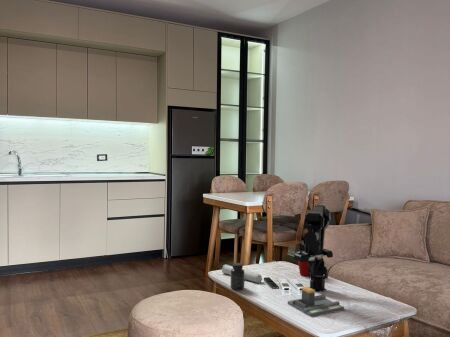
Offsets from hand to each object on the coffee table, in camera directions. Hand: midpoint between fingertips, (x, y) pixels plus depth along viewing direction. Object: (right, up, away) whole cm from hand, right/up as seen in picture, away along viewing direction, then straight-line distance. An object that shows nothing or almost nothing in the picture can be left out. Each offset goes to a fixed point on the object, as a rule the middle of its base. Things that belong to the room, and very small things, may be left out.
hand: (313, 273), depth 188 cm
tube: (-31, -11, +31) cm, 46 cm away
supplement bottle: (-34, -11, +14) cm, 39 cm away
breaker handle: (-5, -11, -11) cm, 16 cm away
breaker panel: (-1, -12, -9) cm, 15 cm away
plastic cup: (+4, -11, +38) cm, 40 cm away
